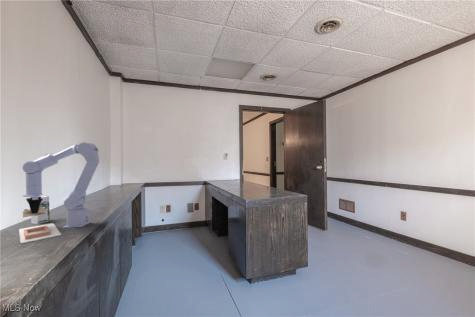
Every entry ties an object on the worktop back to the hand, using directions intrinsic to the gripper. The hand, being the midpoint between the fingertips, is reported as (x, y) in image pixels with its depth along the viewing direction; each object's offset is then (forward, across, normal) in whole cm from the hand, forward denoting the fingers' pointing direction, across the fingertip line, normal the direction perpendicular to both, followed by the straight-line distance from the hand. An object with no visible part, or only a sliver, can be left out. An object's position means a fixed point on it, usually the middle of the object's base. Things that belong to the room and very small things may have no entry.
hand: (34, 212), depth 106 cm
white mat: (+8, +9, +1) cm, 12 cm away
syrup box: (+9, -12, +3) cm, 15 cm away
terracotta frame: (+8, +12, 0) cm, 15 cm away
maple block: (+1, 0, 0) cm, 1 cm away
